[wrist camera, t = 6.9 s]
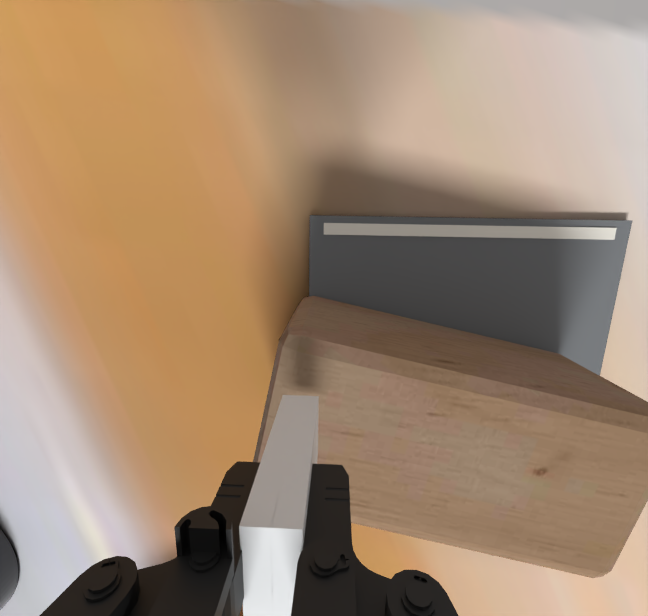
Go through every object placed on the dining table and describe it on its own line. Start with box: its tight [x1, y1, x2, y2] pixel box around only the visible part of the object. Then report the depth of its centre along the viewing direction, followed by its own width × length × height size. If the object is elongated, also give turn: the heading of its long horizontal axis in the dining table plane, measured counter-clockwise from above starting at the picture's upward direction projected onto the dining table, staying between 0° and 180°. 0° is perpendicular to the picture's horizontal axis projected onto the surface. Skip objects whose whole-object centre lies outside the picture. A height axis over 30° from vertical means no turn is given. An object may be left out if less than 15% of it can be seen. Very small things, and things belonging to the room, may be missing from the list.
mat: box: [309, 215, 632, 376], centre depth 26 cm, size 22×17×1 cm
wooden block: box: [253, 296, 648, 578], centre depth 22 cm, size 10×10×20 cm
